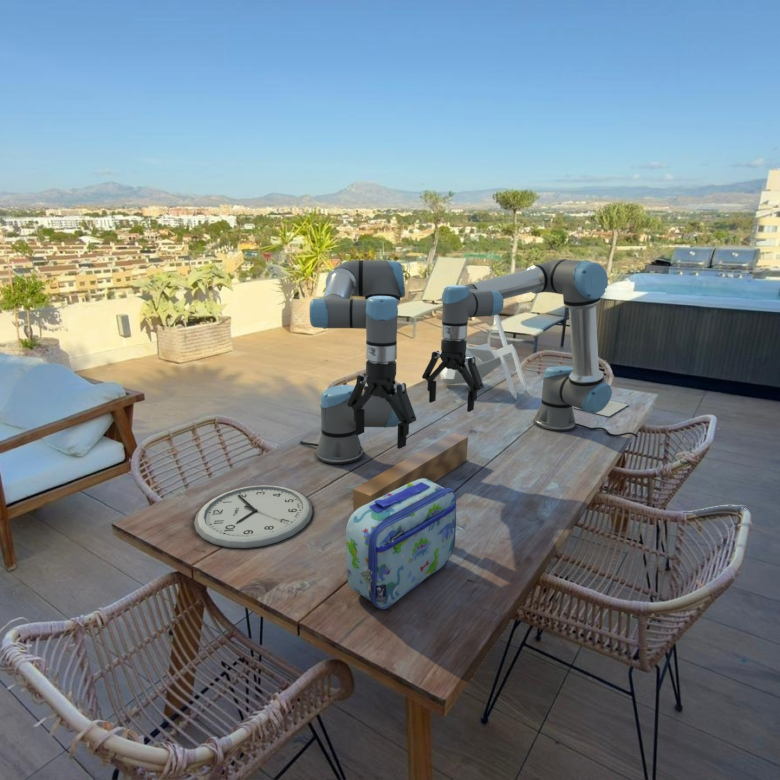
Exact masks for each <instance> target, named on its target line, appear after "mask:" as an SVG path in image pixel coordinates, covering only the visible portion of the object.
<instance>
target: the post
mask: <svg viewBox="0 0 780 780" xmlns="http://www.w3.org/2000/svg"><path fill="white" fill-rule="evenodd" d="M468 444H469V436H466V435H463V434H459V433H456V432H451V433H449V434H448V435H446V436H444V437H443V438H441V439H439V440H437V441H436V442H433V443H432V444H431V445H429V446H426V447H425V448H423V449H421V450H419V451H417V452H416V453H415V454H414V453H413V455H411V456H409V457H408V458H406V459H403V460H402V461H400V462H399V463H397V464H395V465H393V466H391V467H390V468H388V469H386V470H384V471H382V472H381V473H379V474H377V475H376V476H374V477H372V478H370V479H369V480H367V481H365V482H362V484H360V485H358V486H356V487H354V488H353V489H352V501H353V503H352V507H353V510H352V512H353V513H354V512H355V511H356V510H357V509H358V508H360V507H362V506H364V505H366V504H368V503H370V502H372V501H374V500H376V499H378V498H380V497H382V496H384V495H386V494H388V493H390V492H392V491H394V490H396V489H398V488H400V487H402V486H404V485H406V484H409V483H411V482H413V481H416V480H418V479H422V478H425V479H428V480H430V481H432V482H434V483H436V482H437V481H438V480H440V479H441V478H443V477H444V476H446V475H447V474H449V473H450V472H452V471H453V470H455V469H457V468H458V467H459V466H461V465H462V464H463V463H465V462H466V461H467V457H468ZM353 513H352V514H353Z"/></svg>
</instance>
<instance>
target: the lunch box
mask: <svg viewBox="0 0 780 780" xmlns="http://www.w3.org/2000/svg"><path fill="white" fill-rule="evenodd" d="M456 498H457V496H456V493H455V491H454V489H452V488H450V487H443V486H441V485H439V484H438V483H436V482H432V481H430V480H428V479H425V478H422V479H418V480H416V481H413V482H411V483H409V484H406V485H404V486H402V487H400V488H398V489H396V490H394V491H392V492H390V493H388V494H386V495H384V496H382V497H380V498H378V499H376V500H374V501H372V502H370V503H368V504H366V505H364V506H362V507H360V508H358V509H357V510H356V511H355V512H354V513H351V515H350V517H349V519H348V521H347V524H346V530H345V547H346V549H345V550H346V572H347V573H346V575H347V584H348V587H349V589H350V590H351V591H353V592H355V593H357V594H358V595H361V596H363V597H364V598H365V599H367V600H368V601H369V602H371V604H372V605H373V606H374V607H376V608H377V609H380V610H386V609H389V608H391V607H393V605H395V603H397V602H398V601H399V600H400V599H402V598H403V597H404V596H405V595H408V593H410V592H411V591H412V590H413V589H415V588H416V587H417V586H419V585H420V584H421V583H423V581H424V580H425V579H427V578H428V577H430V576H431V575H433V574H435V573H437V572H438V571H439V570H441V569H442V568H443V567H444V566H446V564H447V563H448V562H449V560H450V559H451V556H452V555H453V552H454V548H455V544H456V531H457V530H456V529H457V499H456Z"/></svg>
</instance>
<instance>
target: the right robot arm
mask: <svg viewBox="0 0 780 780" xmlns="http://www.w3.org/2000/svg"><path fill="white" fill-rule="evenodd" d="M608 284H609V278H608V274H607V271H606V269H605V267H603V266H602V265H601V264H600V263H598V262H595V261H591V260H580V259H579V260H576V259H568V258H567V259H565V258H561V259H553V260H549V261H545V262H542V263H538V264H534V265H531V266H529V267H528V268H527V269H526V270H523V271H518V272H514V273H509V274H505V275H502V276H497V277H493V278H489V279H485V280H480V281H476V282H472V283H469V284H464V285H460V284H456V285H455V284H451V285H447V286H445V287H444V288H443V291H442V294H441V301H442V302H441V303H442V310H441V311H442V314H441V340H440V351H441V352H440V351H439V350H435V351H432V352H431V358H430V359H429V362H428V364H427V366H426V368H425V370H424V372H423V374H422V375H421V378H422V379H423V380H426V381H427V387H426V388H427V392H428V393H429V394H428V403H430V404H431V403H434V402H436V401H437V399H436V398H437V380H436V379H437V377H438V376H440V373H441V372H442V371H443V369H444V368H447V369H453V370H458V372H459V373H461V375H462V377H463V378H464V380H465V381H466V383H465V384H466V385H467V386H468V388H469V390H468V391H467V405H466V406H467V408H466V412H469V413H471V412H472V411H474V408H475V402H476V401H477V399H478V391H481V390H483V389H484V387H485V386H484V383H483V380H481V377H480V375H479V372H478V369H477V367H476V361H475V357H471V358H470V357H466V355H465V353H466V344H467V345H468V342H467V338H468V324H469V319H470V318H481V317H483V318H484V317H490V318H491V317H492V316H493V317H494V315H498V316H499V314H500V313H502V312H503V310H504V300H505V299H509V298H514V297H518V296H521V295H526V294H530V293H531V294H535V295H536V294H542V293H551V294H558V295H562V297H563V299H562V300H563V305H564V306H565V307H567V308H568V317H569V318H568V319H569V331H570V349H571V362H572V363H571V364H572V366H566V365H565V366H564V365H557V366H550V367H547V368H546V369H545V370H544V375H543V381H542V392H541V402H540V405H539V407H538V409H537V410H536V412H535V417H534V424H535V425H536V426H537V427H539V428H542V429H544V430H549V431H556V432H567V431H572V430H574V429H575V428H576V426H578V427H581V428H583V429H584V428H585V429H587V430H603V431H604V432H605V433H606V434H607V435H609V436H611V437H622V436H627V435H632V436H634V437H635V438H639V436H638V435H637V434H636V433H634V432H629V431H627V432H622V433H618V434H615V433H611V432H609V430H608V429H606V428H605V427H602V426H598V427H597V426H596V427H591V426H586V425H584V424H580V423H576V418H575V417H576V416H575V413H574V407H577V408H579V409H578V410H580V409H582V410H581V411H583V412H587V413H590V414H596V413H597V412H599V411H601V410H603V409H604V408H605V407H606V405H607V404H608V403H609V401H611V398H612V393H613V390H612V389H613V388H612V386H611V385H610V384H609V383H607V382H605V375H604V372H603V371H602V370H601V369H600V368H599V345H598V344H599V341H598V326H597V325H598V323H597V305H598V304H599V303H600V302H601V297H603V296H604V295H605V293H606V289H607V288H608ZM439 359H440V360H441V362H440V363H439V365H438V366H437V367H436V369H435V366H436V365H437V362H438V360H439ZM465 362H467V364H468V367H469V370H470V373H471V375H472V376H471V375H470V373H469V372H468V370H467V367H466V365H465V364H464V363H465ZM461 367H462V368H461ZM434 369H435V370H434Z"/></svg>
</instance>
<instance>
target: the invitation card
mask: <svg viewBox="0 0 780 780" xmlns="http://www.w3.org/2000/svg"><path fill="white" fill-rule="evenodd" d="M628 406H629V404H627V403H623V402H618V401H614V400H610V401H609V403H608V404H607V405H606V407H605V408H604V409H603V410H601V411H599V412H597V413H595V414H596V415H600V416H604V417H608V418H609V417H611V416H613V415H614V414H616V413H617V412H619V411H621V410H623V409H624V408H626V407H628ZM573 409H575V410H581V411H583V410H582V409H579V408H577V407H574V406H573Z"/></svg>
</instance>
